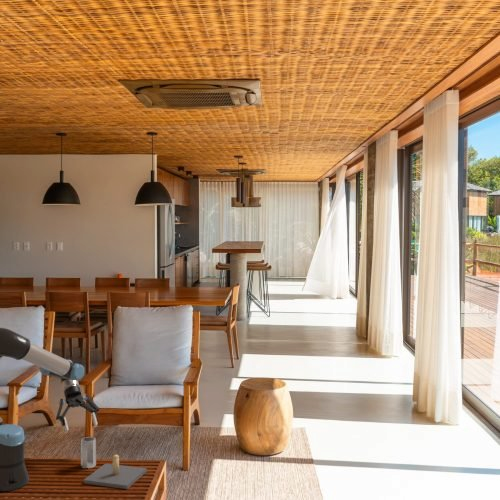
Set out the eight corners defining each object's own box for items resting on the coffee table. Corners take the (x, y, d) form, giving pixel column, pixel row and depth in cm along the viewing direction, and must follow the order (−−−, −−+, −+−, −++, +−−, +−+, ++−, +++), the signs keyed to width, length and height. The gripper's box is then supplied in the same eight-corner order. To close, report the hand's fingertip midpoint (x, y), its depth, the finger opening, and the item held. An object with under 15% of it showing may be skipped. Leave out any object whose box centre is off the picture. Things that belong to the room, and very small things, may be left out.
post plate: (83, 483, 236) (83, 460, 236) (105, 466, 253) (105, 445, 253) (127, 489, 231) (127, 465, 230) (146, 471, 248) (146, 449, 248)
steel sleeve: (78, 467, 252) (78, 440, 252) (86, 462, 258) (86, 436, 258) (90, 469, 251) (90, 442, 250) (98, 463, 256) (97, 437, 256)
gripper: (94, 389, 284) (105, 427, 272) (43, 397, 270) (53, 438, 258) (98, 381, 279) (109, 419, 267) (46, 389, 265) (56, 429, 253)
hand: (82, 428), depth 263 cm, fingers open, 13 cm apart
